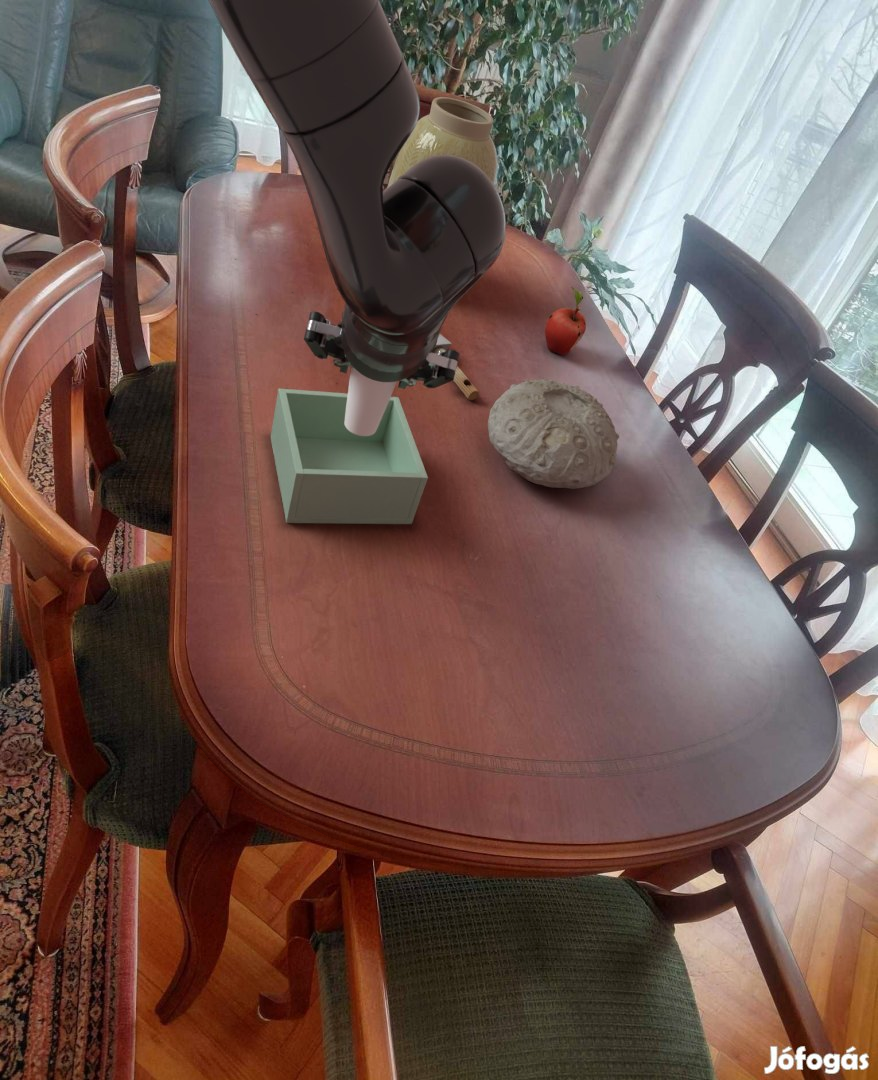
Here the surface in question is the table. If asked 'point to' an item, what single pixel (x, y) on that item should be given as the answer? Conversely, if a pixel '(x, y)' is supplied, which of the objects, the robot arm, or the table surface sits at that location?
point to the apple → (565, 328)
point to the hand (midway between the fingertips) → (374, 370)
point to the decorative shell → (553, 434)
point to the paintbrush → (457, 371)
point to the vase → (450, 137)
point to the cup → (366, 403)
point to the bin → (344, 462)
